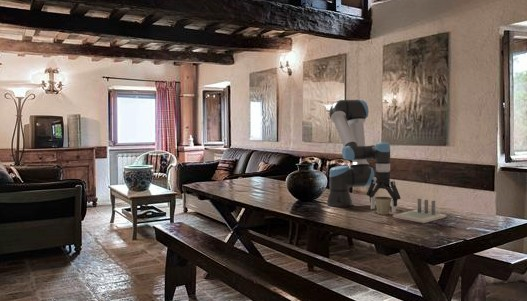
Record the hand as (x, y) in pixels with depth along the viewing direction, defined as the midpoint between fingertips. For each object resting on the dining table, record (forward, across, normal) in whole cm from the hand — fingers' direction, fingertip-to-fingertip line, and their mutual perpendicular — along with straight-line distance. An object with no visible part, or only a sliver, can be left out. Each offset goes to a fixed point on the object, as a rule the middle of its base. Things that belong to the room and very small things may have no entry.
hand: (383, 210), depth 234 cm
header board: (+2, +18, +6) cm, 19 cm away
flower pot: (+2, 0, 0) cm, 2 cm away
